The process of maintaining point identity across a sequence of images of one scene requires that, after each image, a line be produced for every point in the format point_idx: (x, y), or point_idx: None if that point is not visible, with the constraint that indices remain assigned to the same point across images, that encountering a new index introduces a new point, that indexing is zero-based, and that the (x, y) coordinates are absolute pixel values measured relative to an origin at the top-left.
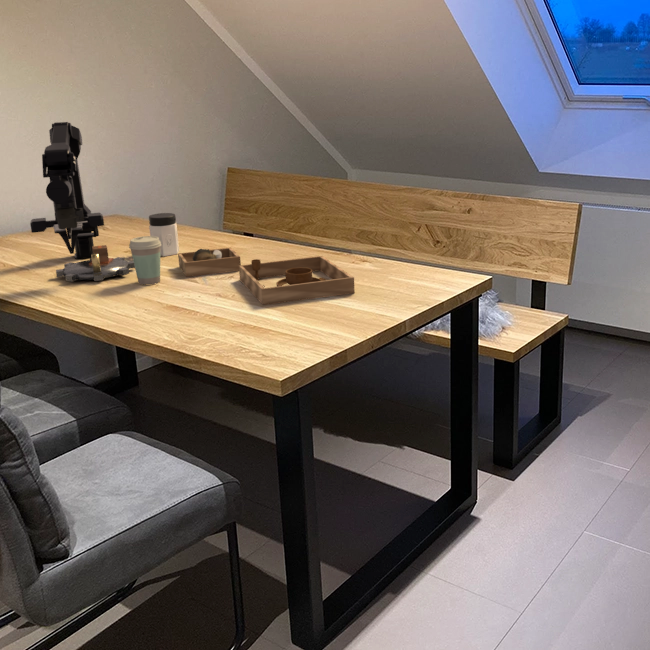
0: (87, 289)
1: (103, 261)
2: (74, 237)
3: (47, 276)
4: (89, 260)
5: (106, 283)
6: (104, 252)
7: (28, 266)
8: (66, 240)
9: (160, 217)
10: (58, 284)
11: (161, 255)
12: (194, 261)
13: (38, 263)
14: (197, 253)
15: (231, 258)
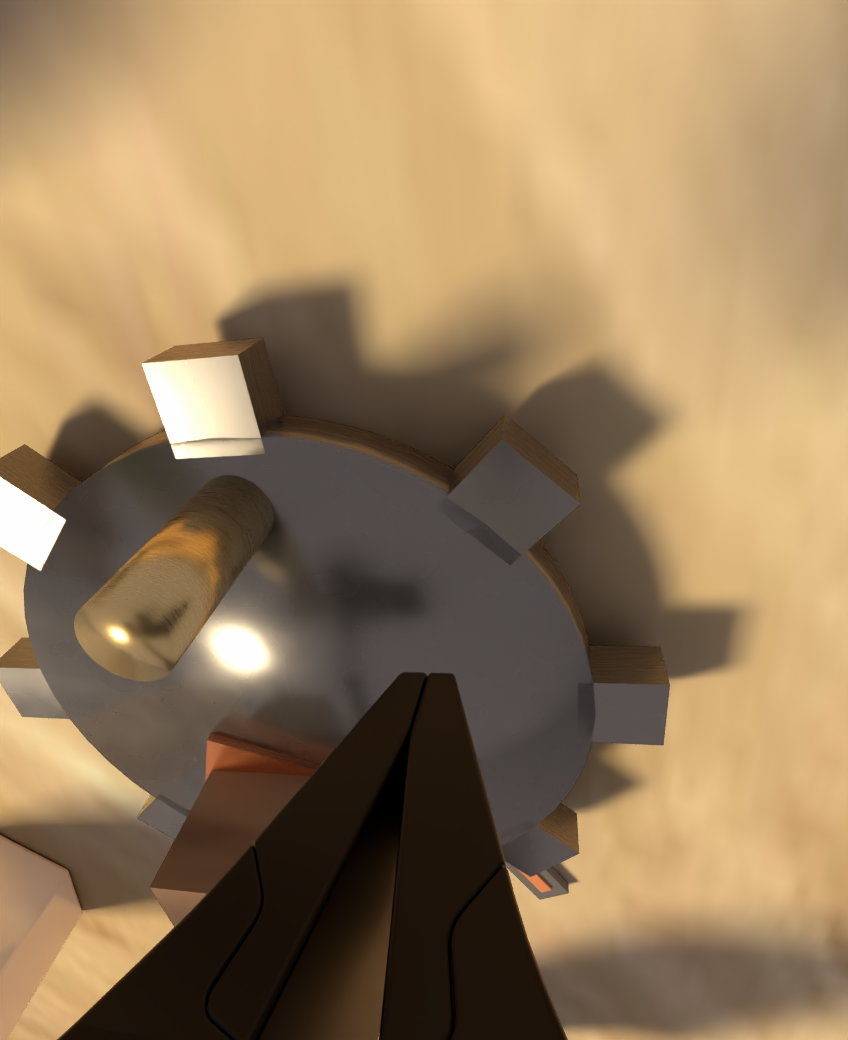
0: (315, 79)
1: (250, 774)
2: (190, 981)
3: (726, 749)
4: None
5: (156, 303)
6: (198, 848)
7: (815, 989)
8: (453, 937)
9: None
10: (658, 462)
11: (4, 841)
12: None
13: (738, 1008)
14: None
15: None
